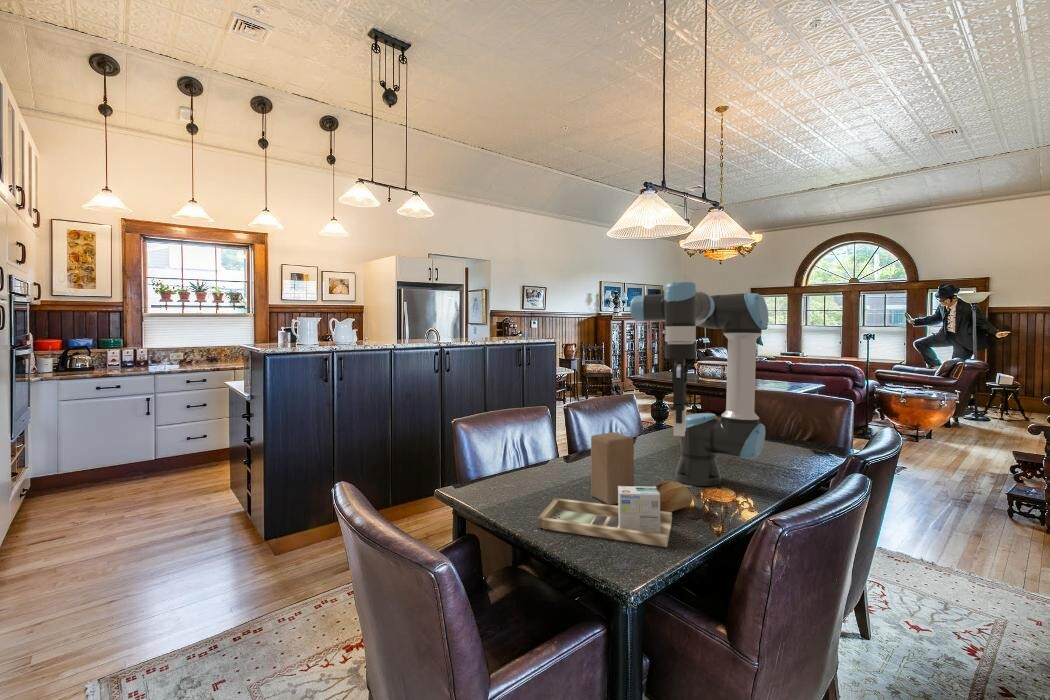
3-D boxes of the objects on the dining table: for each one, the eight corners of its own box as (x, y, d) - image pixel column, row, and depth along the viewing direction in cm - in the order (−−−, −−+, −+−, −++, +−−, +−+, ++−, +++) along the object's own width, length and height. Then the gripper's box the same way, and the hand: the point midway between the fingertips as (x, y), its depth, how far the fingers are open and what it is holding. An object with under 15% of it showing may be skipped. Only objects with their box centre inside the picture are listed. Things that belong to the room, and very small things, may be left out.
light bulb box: (656, 524, 131) (656, 485, 130) (661, 535, 124) (661, 494, 123) (617, 523, 132) (617, 484, 131) (619, 533, 125) (619, 493, 124)
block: (609, 506, 144) (609, 441, 143) (590, 496, 153) (589, 434, 152) (635, 500, 149) (634, 437, 148) (615, 491, 157) (614, 431, 156)
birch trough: (671, 522, 133) (671, 512, 132) (666, 548, 117) (666, 537, 117) (555, 507, 145) (555, 498, 145) (537, 529, 129) (536, 518, 129)
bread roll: (642, 511, 140) (642, 484, 140) (670, 498, 150) (670, 474, 150) (670, 521, 133) (670, 493, 133) (699, 507, 143) (699, 481, 142)
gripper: (667, 341, 131) (667, 425, 133) (661, 344, 114) (661, 440, 115) (696, 341, 129) (696, 426, 130) (694, 344, 112) (694, 442, 113)
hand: (679, 432), depth 123 cm, fingers open, 5 cm apart
